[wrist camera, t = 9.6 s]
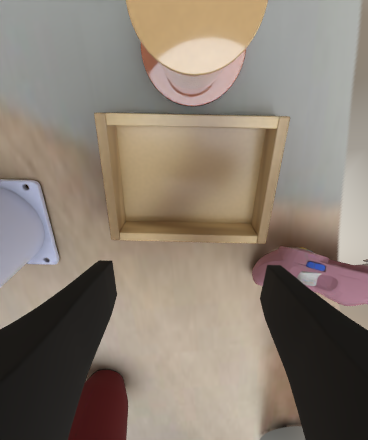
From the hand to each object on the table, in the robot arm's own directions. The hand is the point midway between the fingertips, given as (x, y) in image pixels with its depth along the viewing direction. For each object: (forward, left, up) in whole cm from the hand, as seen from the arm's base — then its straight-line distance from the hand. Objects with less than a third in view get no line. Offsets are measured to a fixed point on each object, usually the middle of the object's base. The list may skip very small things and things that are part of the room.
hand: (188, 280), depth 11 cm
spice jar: (0, +11, -9) cm, 14 cm away
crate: (0, +3, -9) cm, 10 cm away
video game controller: (+11, -5, -10) cm, 16 cm away
